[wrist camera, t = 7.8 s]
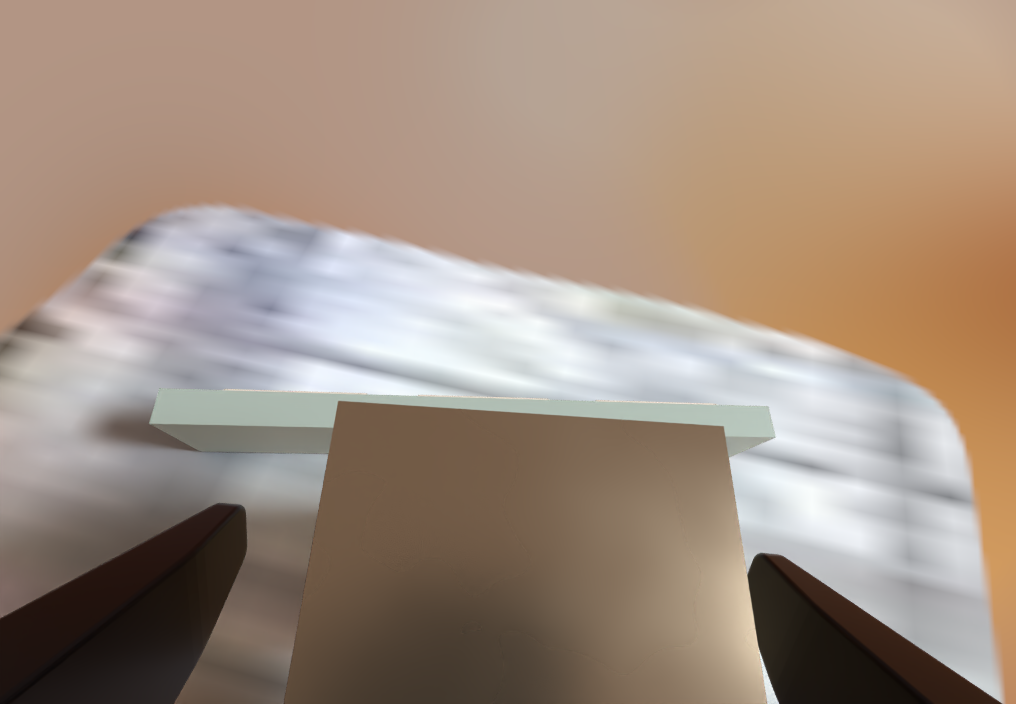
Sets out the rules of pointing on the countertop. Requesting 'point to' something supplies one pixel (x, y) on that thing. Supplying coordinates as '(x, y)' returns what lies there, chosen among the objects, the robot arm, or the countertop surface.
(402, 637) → the brown block
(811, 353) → the countertop surface
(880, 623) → the robot arm
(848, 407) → the countertop surface
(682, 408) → the rail
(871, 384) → the countertop surface
